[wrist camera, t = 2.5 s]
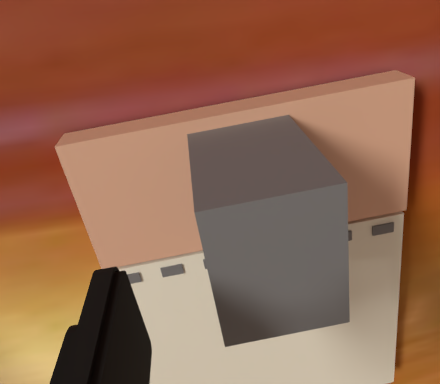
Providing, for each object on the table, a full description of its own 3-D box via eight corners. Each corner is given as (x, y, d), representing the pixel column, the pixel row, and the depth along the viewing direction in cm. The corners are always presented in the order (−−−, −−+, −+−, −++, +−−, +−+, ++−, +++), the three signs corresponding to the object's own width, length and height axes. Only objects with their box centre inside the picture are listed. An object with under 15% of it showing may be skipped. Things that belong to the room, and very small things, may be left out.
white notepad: (382, 361, 26) (394, 383, 24) (164, 405, 25) (164, 430, 24) (388, 198, 20) (405, 214, 19) (109, 252, 20) (104, 273, 18)
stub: (390, 194, 20) (501, 303, 13) (106, 250, 19) (72, 388, 13) (395, 70, 17) (539, 127, 10) (64, 133, 17) (-8, 233, 10)
